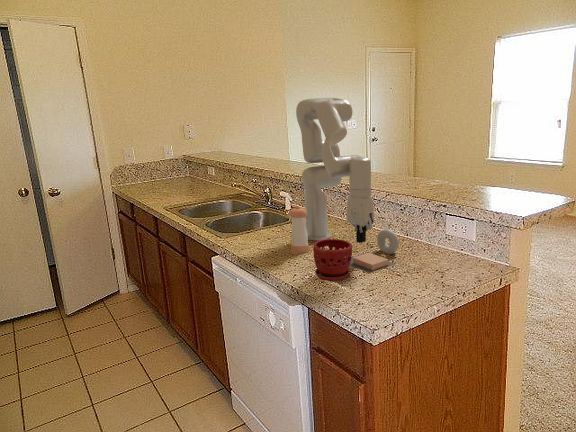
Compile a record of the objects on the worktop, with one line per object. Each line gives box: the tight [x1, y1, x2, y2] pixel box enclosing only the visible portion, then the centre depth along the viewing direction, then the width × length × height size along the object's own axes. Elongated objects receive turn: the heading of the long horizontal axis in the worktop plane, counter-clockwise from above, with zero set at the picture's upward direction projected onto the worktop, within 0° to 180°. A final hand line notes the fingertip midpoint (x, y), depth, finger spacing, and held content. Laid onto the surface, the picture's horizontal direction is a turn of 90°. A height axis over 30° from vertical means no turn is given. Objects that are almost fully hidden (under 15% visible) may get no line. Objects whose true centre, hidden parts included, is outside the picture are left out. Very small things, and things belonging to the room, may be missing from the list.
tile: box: [352, 252, 390, 270], centre depth 159 cm, size 2×8×10 cm
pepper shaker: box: [288, 205, 310, 256], centre depth 176 cm, size 7×7×19 cm
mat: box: [349, 252, 396, 274], centre depth 161 cm, size 16×13×1 cm
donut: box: [376, 228, 400, 255], centre depth 170 cm, size 10×4×10 cm, turn 35°
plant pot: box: [312, 238, 353, 282], centre depth 150 cm, size 13×13×12 cm
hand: (361, 241), depth 161 cm, fingers closed
